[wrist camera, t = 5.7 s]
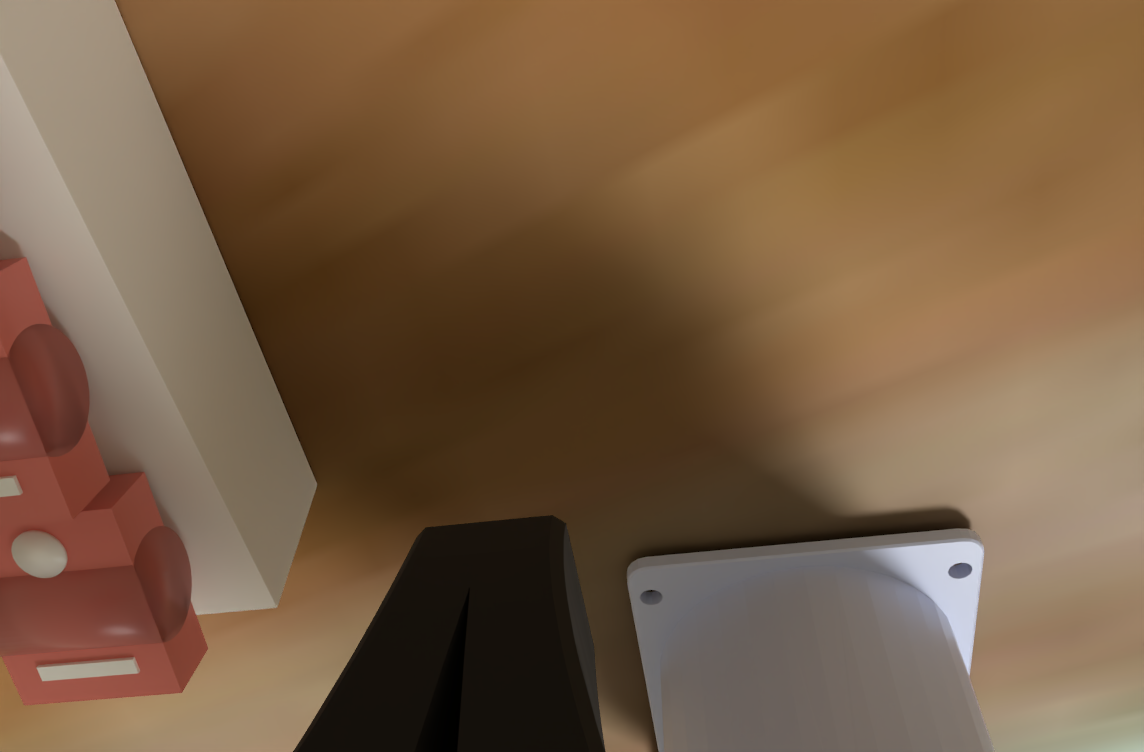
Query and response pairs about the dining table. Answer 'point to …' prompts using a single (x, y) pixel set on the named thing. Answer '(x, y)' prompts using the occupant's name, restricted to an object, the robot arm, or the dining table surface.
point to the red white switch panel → (145, 299)
